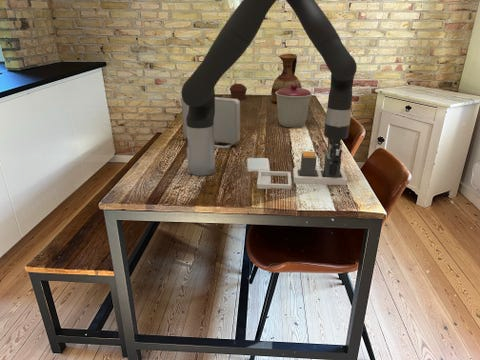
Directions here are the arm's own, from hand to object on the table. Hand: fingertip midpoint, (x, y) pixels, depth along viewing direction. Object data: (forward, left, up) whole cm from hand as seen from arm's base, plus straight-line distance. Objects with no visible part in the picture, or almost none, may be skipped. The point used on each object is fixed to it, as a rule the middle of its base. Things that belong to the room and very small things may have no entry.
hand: (331, 171), depth 118 cm
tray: (-19, -3, -4) cm, 20 cm away
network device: (-47, +36, -4) cm, 59 cm away
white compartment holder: (-4, 0, -4) cm, 5 cm away
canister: (-11, +68, -4) cm, 69 cm away
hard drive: (-25, +11, -5) cm, 28 cm away
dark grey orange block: (-8, 0, -3) cm, 8 cm away
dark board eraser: (0, 0, -3) cm, 3 cm away
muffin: (-45, +127, -4) cm, 135 cm away
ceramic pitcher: (-13, +120, -4) cm, 121 cm away
